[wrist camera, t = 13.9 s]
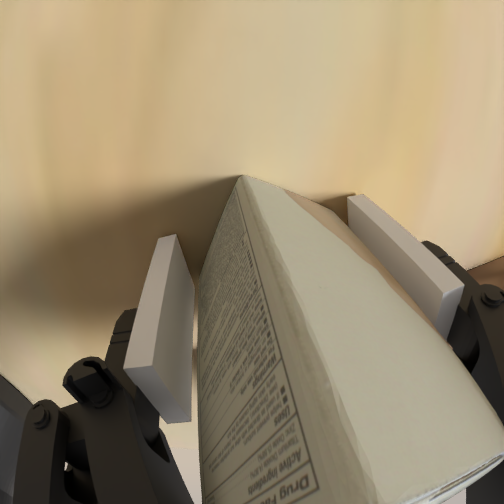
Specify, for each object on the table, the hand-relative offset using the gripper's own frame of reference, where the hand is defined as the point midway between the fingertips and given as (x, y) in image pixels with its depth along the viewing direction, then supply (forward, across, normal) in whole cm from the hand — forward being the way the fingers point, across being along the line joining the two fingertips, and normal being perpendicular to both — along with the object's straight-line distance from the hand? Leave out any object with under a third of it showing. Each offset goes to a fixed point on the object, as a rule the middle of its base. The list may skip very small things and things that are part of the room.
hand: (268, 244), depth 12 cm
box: (0, 0, 0) cm, 0 cm away
